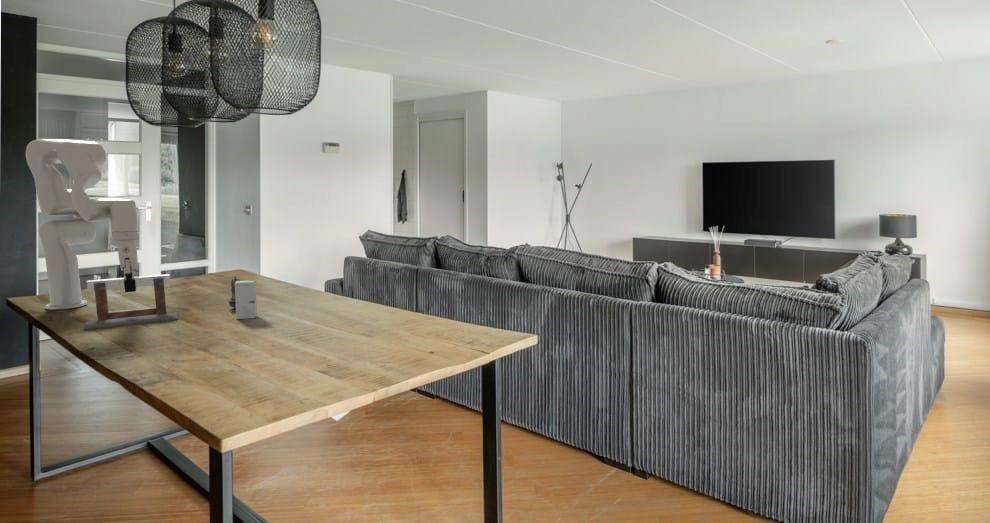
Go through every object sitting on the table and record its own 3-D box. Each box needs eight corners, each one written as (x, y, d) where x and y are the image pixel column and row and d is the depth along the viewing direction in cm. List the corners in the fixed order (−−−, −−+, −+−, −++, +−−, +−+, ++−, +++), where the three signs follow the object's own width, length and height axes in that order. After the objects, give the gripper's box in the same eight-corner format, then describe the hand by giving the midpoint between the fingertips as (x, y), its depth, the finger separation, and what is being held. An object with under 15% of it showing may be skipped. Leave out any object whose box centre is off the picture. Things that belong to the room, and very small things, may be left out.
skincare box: (235, 319, 204) (233, 282, 202) (238, 316, 208) (235, 280, 206) (255, 318, 205) (253, 281, 203) (257, 315, 209) (255, 279, 208)
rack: (97, 321, 204) (93, 283, 202) (98, 317, 209) (95, 280, 207) (166, 313, 213) (163, 277, 212) (166, 310, 218) (163, 275, 217)
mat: (83, 330, 192) (83, 328, 192) (86, 323, 201) (86, 321, 201) (177, 319, 204) (177, 317, 204) (176, 314, 213) (176, 312, 213)
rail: (87, 290, 203) (86, 281, 202) (88, 289, 205) (87, 280, 205) (170, 283, 214) (169, 275, 214) (170, 282, 217) (169, 274, 216)
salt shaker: (242, 311, 215) (240, 277, 214) (225, 311, 215) (223, 277, 214) (249, 308, 221) (247, 274, 219) (232, 308, 221) (230, 274, 220)
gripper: (138, 237, 202) (143, 293, 205) (138, 234, 216) (143, 286, 219) (111, 239, 199) (116, 296, 201) (113, 235, 213) (118, 288, 215)
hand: (130, 290), depth 210 cm, fingers closed on rail, 3 cm apart
